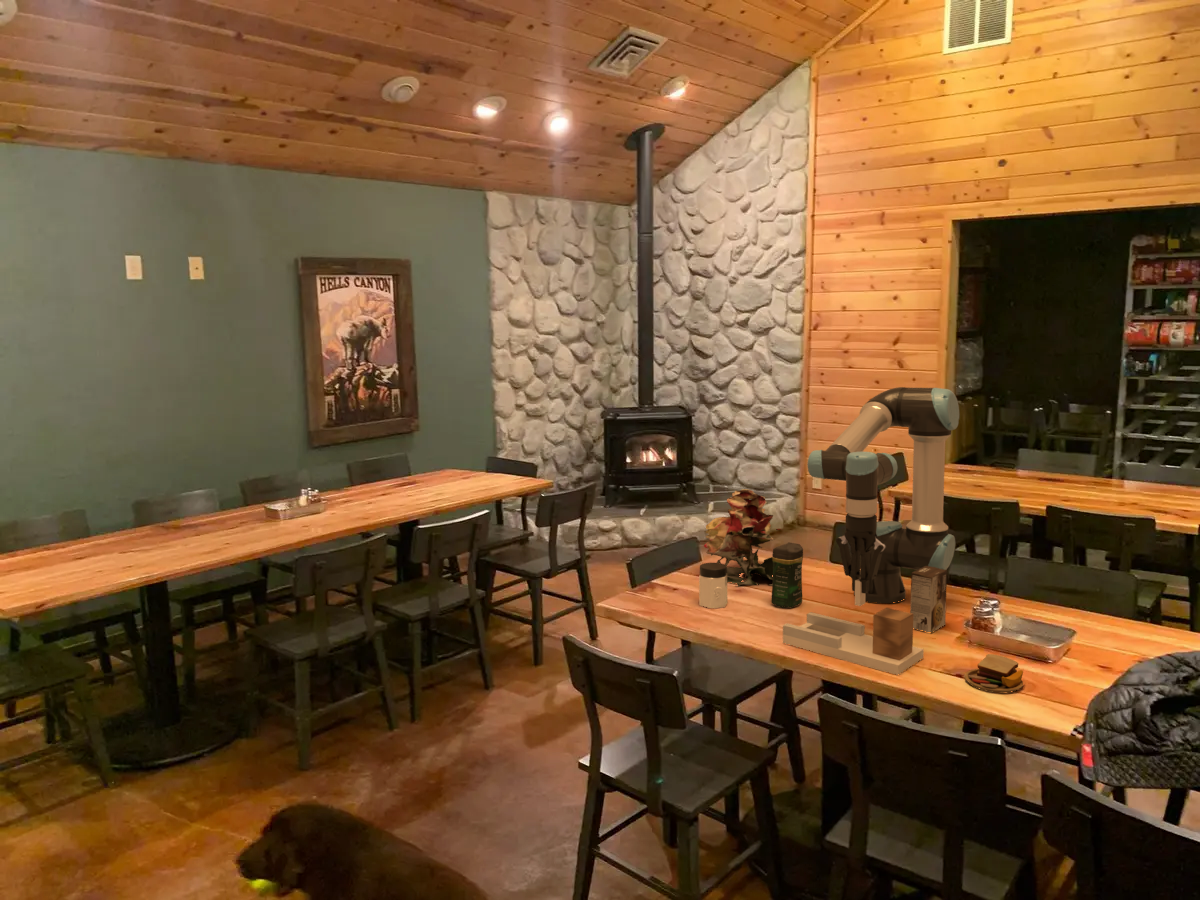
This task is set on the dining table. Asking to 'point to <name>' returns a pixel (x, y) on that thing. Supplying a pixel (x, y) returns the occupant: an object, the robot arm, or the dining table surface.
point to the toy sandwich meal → (996, 674)
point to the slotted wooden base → (844, 643)
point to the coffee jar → (787, 575)
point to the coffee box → (928, 598)
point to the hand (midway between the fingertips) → (860, 604)
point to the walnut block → (892, 633)
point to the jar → (713, 585)
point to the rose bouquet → (742, 537)
